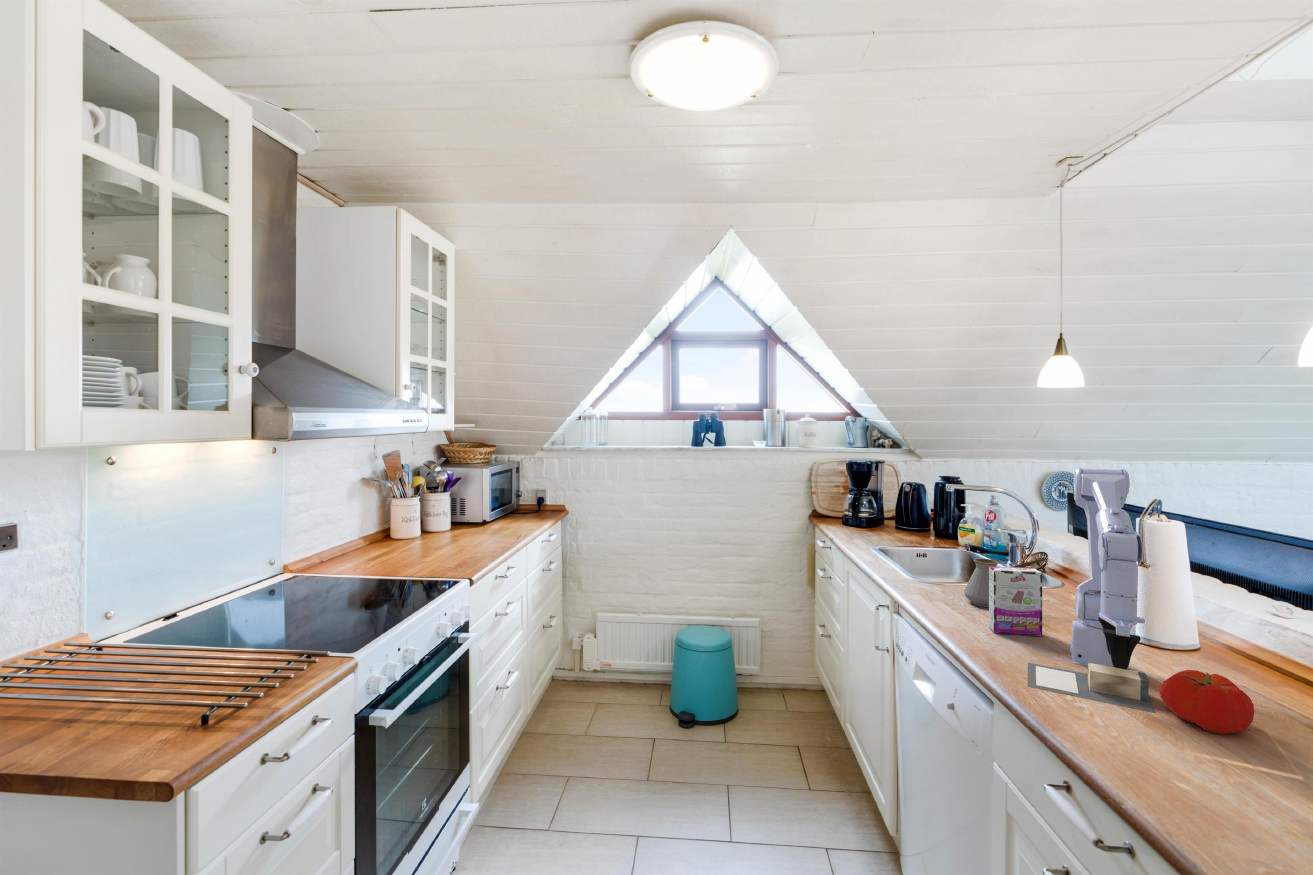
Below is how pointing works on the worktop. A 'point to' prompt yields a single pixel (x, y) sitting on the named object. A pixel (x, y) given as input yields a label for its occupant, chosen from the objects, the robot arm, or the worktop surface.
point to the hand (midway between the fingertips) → (1117, 661)
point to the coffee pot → (985, 580)
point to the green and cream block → (1118, 682)
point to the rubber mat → (1077, 686)
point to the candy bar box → (1015, 601)
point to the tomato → (1208, 701)
